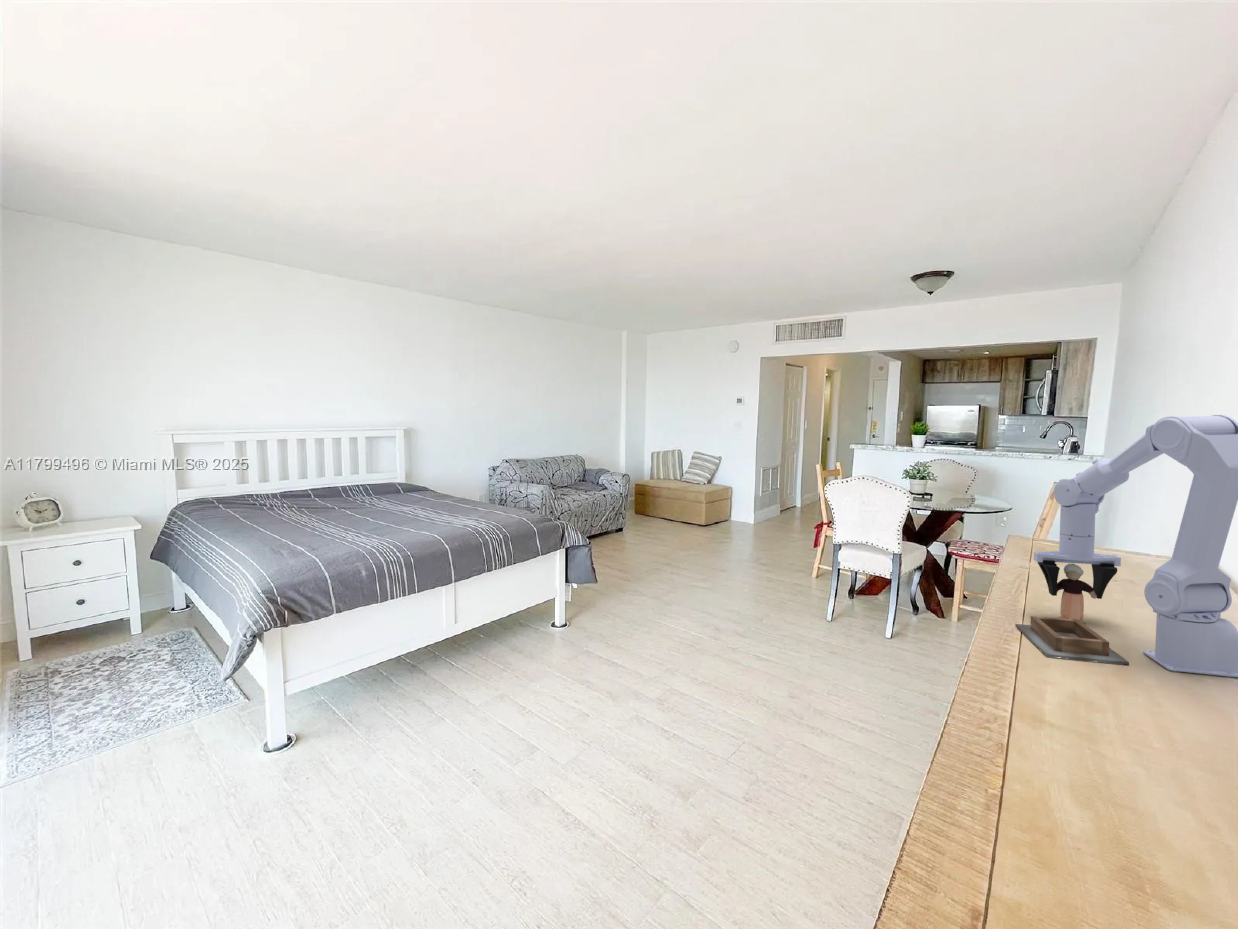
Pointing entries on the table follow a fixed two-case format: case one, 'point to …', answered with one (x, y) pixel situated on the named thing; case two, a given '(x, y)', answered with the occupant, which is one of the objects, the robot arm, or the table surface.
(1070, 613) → the grandmother figurine
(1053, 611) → the table surface
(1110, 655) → the wooden tray
